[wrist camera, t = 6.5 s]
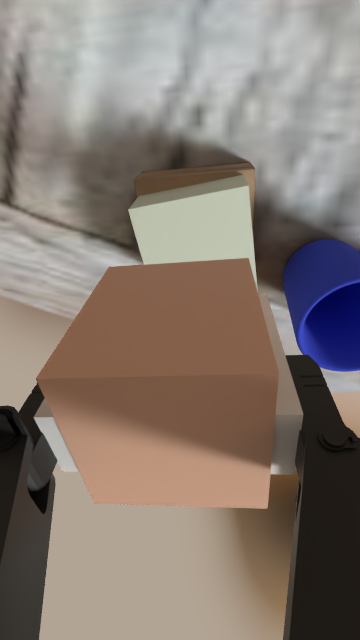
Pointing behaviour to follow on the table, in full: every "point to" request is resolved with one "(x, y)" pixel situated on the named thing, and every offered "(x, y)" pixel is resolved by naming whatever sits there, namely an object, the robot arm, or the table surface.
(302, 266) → the mug
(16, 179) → the table surface
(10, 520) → the robot arm
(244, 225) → the block
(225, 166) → the riser lower
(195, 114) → the table surface
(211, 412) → the clay block
